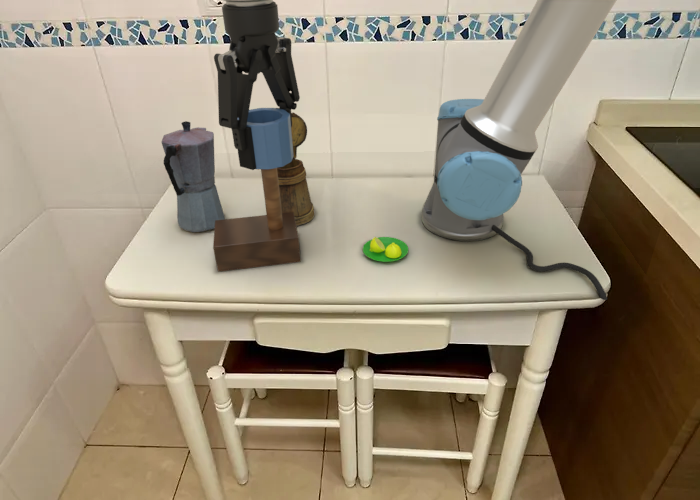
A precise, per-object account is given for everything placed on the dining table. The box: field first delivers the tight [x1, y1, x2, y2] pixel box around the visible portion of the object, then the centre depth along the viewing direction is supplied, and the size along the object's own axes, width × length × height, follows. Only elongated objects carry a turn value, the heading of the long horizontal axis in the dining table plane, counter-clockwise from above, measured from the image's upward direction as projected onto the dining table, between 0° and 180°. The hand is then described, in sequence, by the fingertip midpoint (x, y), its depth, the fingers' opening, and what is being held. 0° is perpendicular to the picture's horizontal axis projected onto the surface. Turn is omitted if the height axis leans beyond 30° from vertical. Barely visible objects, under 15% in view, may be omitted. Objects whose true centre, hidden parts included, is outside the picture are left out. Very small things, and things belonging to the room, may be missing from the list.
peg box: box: [212, 168, 301, 273], centre depth 87 cm, size 14×9×18 cm, turn 100°
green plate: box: [362, 236, 409, 263], centre depth 91 cm, size 8×8×3 cm
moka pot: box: [161, 120, 226, 233], centre depth 96 cm, size 10×15×20 cm, turn 173°
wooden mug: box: [277, 112, 315, 227], centre depth 100 cm, size 9×14×18 cm, turn 174°
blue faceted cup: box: [237, 107, 294, 170], centre depth 81 cm, size 8×8×7 cm
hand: (267, 157), depth 83 cm, fingers closed on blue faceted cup, 8 cm apart
